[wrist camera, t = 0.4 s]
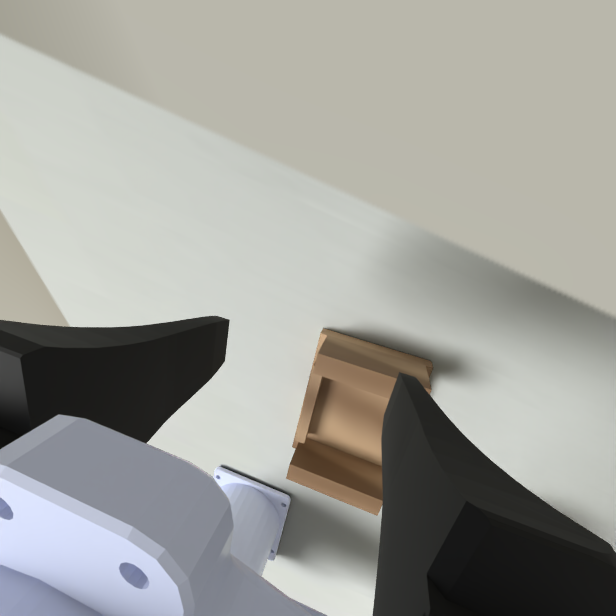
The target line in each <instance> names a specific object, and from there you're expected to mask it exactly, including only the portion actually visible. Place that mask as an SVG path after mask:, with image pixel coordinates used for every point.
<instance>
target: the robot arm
mask: <svg viewBox="0 0 616 616" xmlns="http://www.w3.org/2000/svg"><path fill="white" fill-rule="evenodd" d="M228 329H229V320H228V319H225V318H222V317H218V316H207V317H199V318H193V319H186V320H180V321H174V322H167V323H159V324H152V325H143V326H131V327H111V328H109V327H62V326H49V325H48V326H47V325H37V324H28V323H21V322H12V321H4V320H0V616H327V615H325V614H323V613H320V612H318V611H316V610H314V609H312V608H310V607H308V606H306V605H304V604H302V603H299V602H297V601H295V600H293V599H291V598H289V597H288V596H286V595H285V594H284V593H282V592H281V591H280V590H279V589H277V588H276V587H275V586H273V585H272V584H271V583H269V582H268V581H267V580H265V579H264V578H263V577H261V576H262V573H263V570H264V568H265V565H266V562H267V559H268V560H274V559H275V556H276V553H277V549H278V546H279V542H280V538H281V534H282V531H283V527H284V523H285V520H286V516H287V512H288V508H289V505H290V501H291V498H290V497H289V496H288V495H287V494H284V493H282V492H280V491H277V490H275V489H272V488H270V487H268V486H265V485H263V484H260V483H258V482H256V481H253V480H251V479H249V478H246V477H244V476H241V475H239V474H237V473H234V472H232V471H229V470H227V469H225V468H222V467H217V468H216V469H215V471H214V478H213V477H212V476H211V475H209V474H208V473H206V472H205V471H203V470H202V469H200V468H199V467H197V466H196V465H194V464H192V463H191V462H189V461H187V460H184V459H182V458H179V457H177V456H175V455H172V454H170V453H167V452H165V451H163V450H160V449H158V448H155V447H153V446H151V445H148V444H146V443H147V442H148V441H149V440H150V439H151V437H152V436H153V435H154V434H155V433H156V432H157V431H158V429H159V428H160V427H161V426H162V425H163V424H164V423H165V422H166V421H167V420H168V419H169V418H170V417H171V416H172V415H173V414H174V413H175V412H176V411H177V410H178V409H179V408H180V407H181V406H182V405H183V404H184V403H185V402H187V401H188V400H189V399H190V398H191V397H192V396H193V395H194V394H195V393H196V392H197V391H198V390H200V389H201V388H202V387H203V386H204V385H205V384H206V383H207V382H208V381H209V380H210V379H211V378H212V377H213V376H214V374H215V373H216V372H217V371H218V370H219V368H220V367H221V366H222V364H223V363H224V362H225V354H226V346H227V337H228ZM381 450H382V487H383V507H382V521H381V535H380V546H379V558H378V569H377V579H376V589H375V599H374V608H373V616H616V553H615V551H614V550H613V548H612V547H611V545H610V544H609V543H607V542H606V541H604V540H603V539H601V538H600V537H598V536H596V535H595V534H593V533H592V532H590V531H589V530H587V529H585V528H584V527H582V526H581V525H579V524H578V523H576V522H574V521H573V520H571V519H570V518H568V517H567V516H565V515H563V514H562V513H560V512H559V511H557V510H556V509H554V508H553V507H551V506H550V505H549V504H547V503H546V502H544V501H543V500H542V499H540V498H539V497H537V496H536V495H535V494H533V493H532V492H530V491H529V490H528V489H526V488H525V487H524V486H522V485H521V484H520V483H518V482H517V481H516V480H514V479H513V478H512V477H511V476H509V475H508V474H507V473H506V472H504V471H503V470H502V469H501V468H500V467H498V466H497V465H496V464H495V463H493V462H492V461H491V460H490V459H489V458H488V457H487V456H485V455H484V454H483V453H482V452H481V451H480V450H479V449H478V448H477V447H476V446H475V445H474V444H473V443H472V442H470V441H469V440H468V439H467V438H466V437H465V436H464V435H463V434H462V433H461V431H460V430H459V429H458V428H457V427H456V426H455V425H454V424H453V423H452V422H451V420H450V419H449V418H448V417H447V416H446V415H445V414H444V412H443V411H442V410H441V409H440V407H439V406H438V405H437V404H436V402H435V401H434V400H433V399H432V397H431V396H430V395H429V393H428V392H427V391H426V389H425V388H424V387H423V386H422V384H421V383H420V382H419V380H418V379H417V378H416V377H414V376H410V375H407V374H404V373H401V372H399V374H398V377H397V380H396V383H395V385H394V388H393V391H392V394H391V396H390V399H389V402H388V405H387V408H386V410H385V413H384V418H383V426H382V436H381Z"/></svg>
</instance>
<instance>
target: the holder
mask: <svg viewBox="0 0 616 616" xmlns="http://www.w3.org/2000/svg"><path fill="white" fill-rule="evenodd" d="M432 370H433V365H432V362H431V361H429V360H426V359H423V358H419V357H416V356H413V355H410V354H406V353H403V352H400V351H396V350H393V349H390V348H387V347H383V346H380V345H377V344H373V343H370V342H367V341H364V340H360V339H357V338H354V337H351V336H347V335H344V334H341V333H337V332H334V331H331V330H328V329H324V328H323V330H322V332H321V334H320V338H319V342H318V346H317V350H316V354H315V358H314V362H313V366H312V370H311V374H310V378H309V382H308V386H307V390H306V394H305V398H304V402H303V406H302V410H301V414H300V418H299V422H298V426H297V430H296V434H295V438H294V442H293V446H292V447H293V448H296V450H295V452H294V455H293V457H292V460H291V462H290V465H289V469H288V473H287V477H286V479H289V480H291V481H294V482H296V483H298V484H301V485H303V486H306V487H308V488H311V489H313V490H316V491H318V492H320V493H323V494H325V495H328V496H330V497H333V498H335V499H338V500H340V501H342V502H345V503H347V504H350V505H352V506H355V507H357V508H360V509H362V510H365V511H367V512H369V513H372V514H374V515H377V516H378V513H379V511H380V509H381V506H382V504H383V487H382V450H381V436H382V426H383V418H384V413H385V410H386V408H387V405H388V402H389V399H390V396H391V394H392V391H393V388H394V385H395V383H396V380H397V377H398V374H399V372H401V373H404V374H407V375H410V376H414V377H416V378H417V379H418V380H419V382H420V383H421V384H422V386H423V387H424V388H425V389H426V391H427V392H428V393H429V395H430V392H431V385H430V381H429V377H430V374H431V372H432Z"/></svg>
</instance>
